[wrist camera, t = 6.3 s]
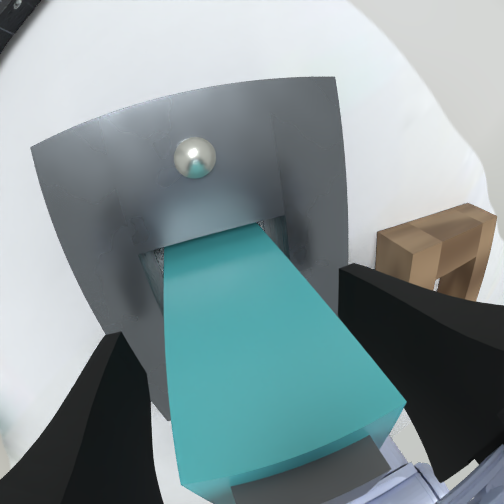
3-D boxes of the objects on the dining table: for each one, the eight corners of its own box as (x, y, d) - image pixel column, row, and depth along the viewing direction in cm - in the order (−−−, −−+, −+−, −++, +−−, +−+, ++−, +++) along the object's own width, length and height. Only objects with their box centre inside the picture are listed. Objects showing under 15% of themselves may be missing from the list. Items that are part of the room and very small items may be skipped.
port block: (319, 334, 17) (344, 370, 14) (164, 381, 15) (168, 425, 12) (297, 85, 10) (339, 75, 7) (63, 141, 9) (26, 148, 6)
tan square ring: (447, 305, 21) (467, 322, 18) (365, 351, 19) (385, 377, 17) (467, 202, 16) (497, 216, 14) (377, 231, 15) (413, 254, 12)
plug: (258, 279, 14) (381, 487, 4) (187, 300, 13) (243, 538, 4) (245, 210, 12) (433, 436, 3) (164, 232, 11) (191, 530, 2)
